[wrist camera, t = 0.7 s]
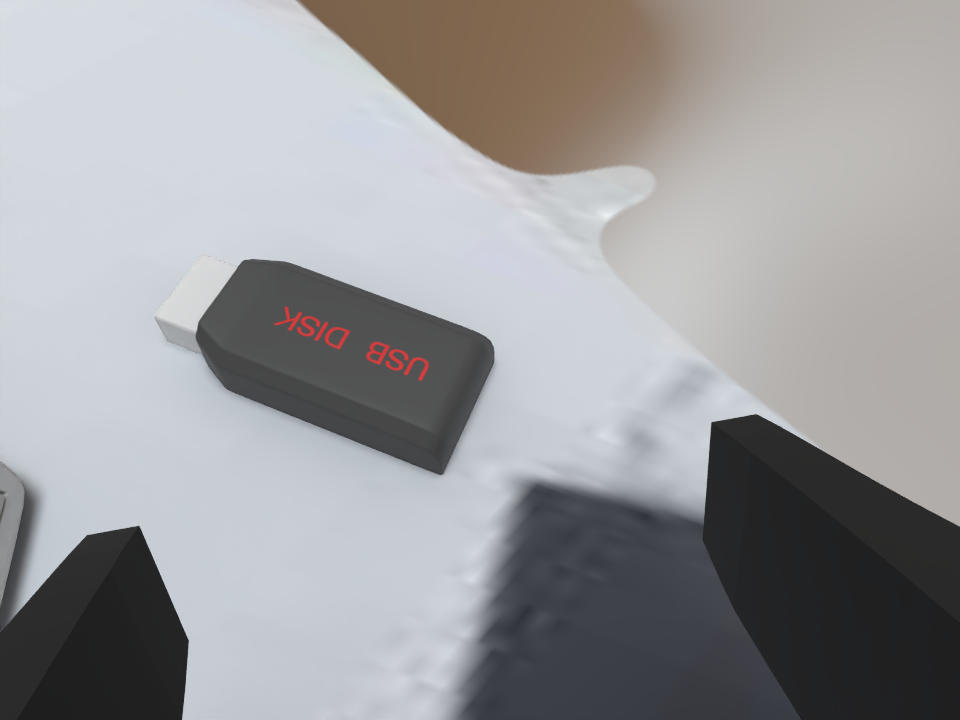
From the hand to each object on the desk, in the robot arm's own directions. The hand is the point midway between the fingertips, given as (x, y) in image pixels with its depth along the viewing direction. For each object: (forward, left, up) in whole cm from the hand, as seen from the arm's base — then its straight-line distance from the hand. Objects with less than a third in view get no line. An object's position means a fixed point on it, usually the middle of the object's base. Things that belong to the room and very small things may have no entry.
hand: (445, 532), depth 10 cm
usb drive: (+12, -5, -17) cm, 21 cm away
